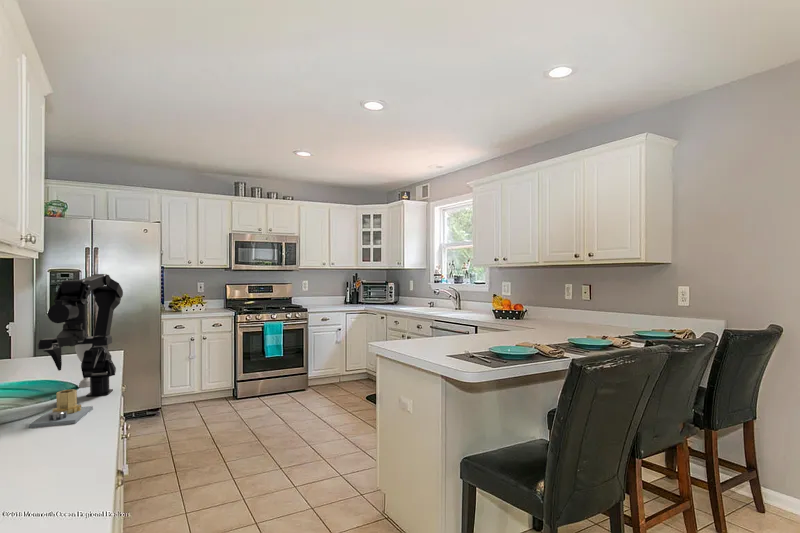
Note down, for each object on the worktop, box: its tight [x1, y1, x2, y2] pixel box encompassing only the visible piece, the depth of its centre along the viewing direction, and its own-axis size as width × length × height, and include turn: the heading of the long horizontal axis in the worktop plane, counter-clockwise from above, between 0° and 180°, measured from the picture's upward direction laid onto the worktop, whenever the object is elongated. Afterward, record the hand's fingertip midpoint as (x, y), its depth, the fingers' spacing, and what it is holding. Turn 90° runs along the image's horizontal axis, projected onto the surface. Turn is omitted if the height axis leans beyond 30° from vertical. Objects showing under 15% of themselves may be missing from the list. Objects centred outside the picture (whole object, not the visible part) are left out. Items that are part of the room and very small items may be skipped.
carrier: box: [29, 405, 94, 429], centre depth 138 cm, size 14×11×6 cm
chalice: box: [74, 335, 94, 388], centre depth 177 cm, size 7×7×18 cm
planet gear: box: [51, 388, 82, 414], centre depth 141 cm, size 7×7×6 cm
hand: (76, 369), depth 149 cm, fingers open, 9 cm apart
